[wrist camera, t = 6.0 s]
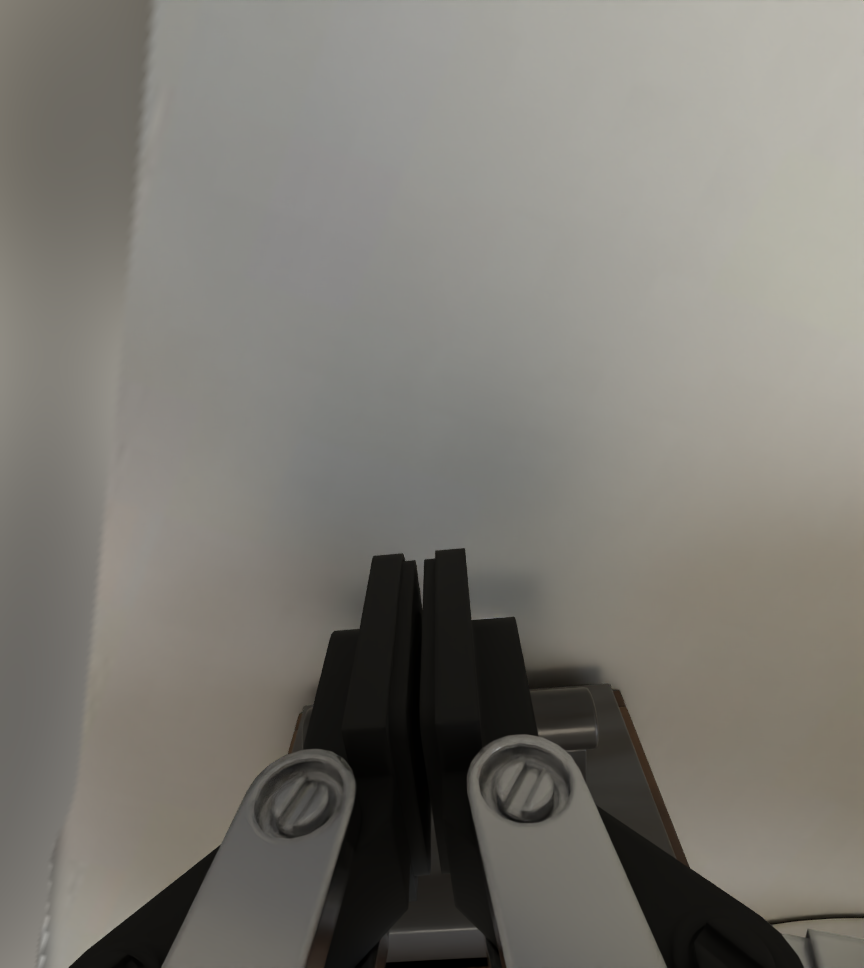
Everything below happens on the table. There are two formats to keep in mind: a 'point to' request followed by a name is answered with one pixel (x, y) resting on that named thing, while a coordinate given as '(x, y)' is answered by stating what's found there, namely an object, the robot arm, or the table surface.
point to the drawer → (612, 784)
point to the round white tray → (824, 927)
